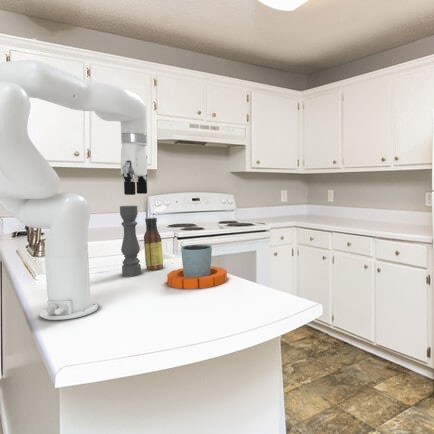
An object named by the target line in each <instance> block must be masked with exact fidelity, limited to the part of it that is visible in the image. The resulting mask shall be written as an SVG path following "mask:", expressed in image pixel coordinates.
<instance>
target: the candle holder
mask: <svg viewBox="0 0 434 434" xmlns="http://www.w3.org/2000/svg"><path fill="white" fill-rule="evenodd" d="M119 215H120V218H121V219H122V222H121V226H122V227H123V239H122V243H121V247H120V251H121V254H122V255H123V257H124V259H123V260H122V265H121V275H122V277H126V278H127V277H128V278H129V277H137V276H140V275H142V265H141V263H140V259H139V258H138V256H139V253H140V250H141V247H140V244H139V240H138V236H137V231H136V229H137V228H136V226H137V225H138V221H136V220H137V217H138V215H139V214H138V205H120V206H119Z"/></svg>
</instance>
